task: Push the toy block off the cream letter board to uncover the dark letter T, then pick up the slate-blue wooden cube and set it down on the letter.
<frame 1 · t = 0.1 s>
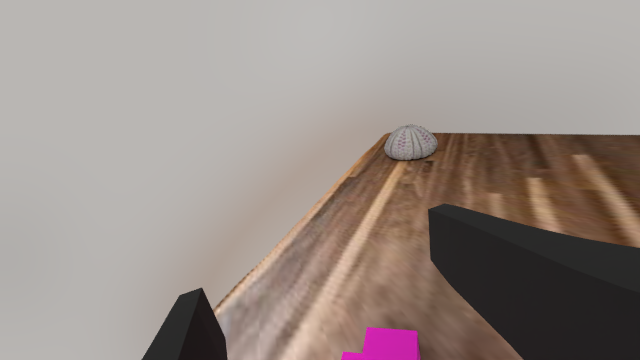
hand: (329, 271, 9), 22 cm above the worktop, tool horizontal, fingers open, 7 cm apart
sea urchin shell: (411, 155, 82), on the worktop
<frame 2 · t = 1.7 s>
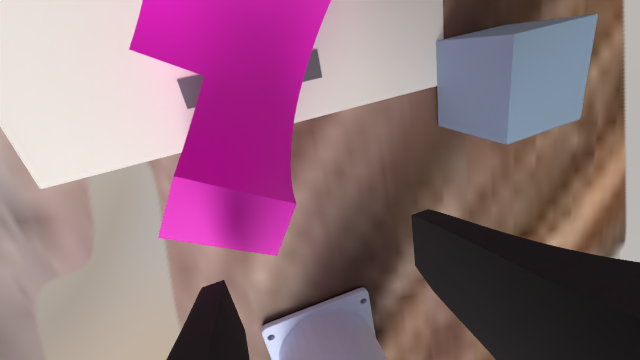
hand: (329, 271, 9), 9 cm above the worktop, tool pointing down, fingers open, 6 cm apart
blue cube: (470, 76, 19), on the worktop, touching letter board
letter board: (237, 16, 14), on the worktop
toy block: (237, 16, 14), resting on letter board
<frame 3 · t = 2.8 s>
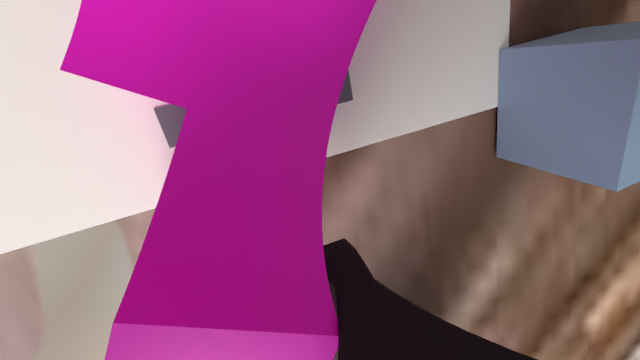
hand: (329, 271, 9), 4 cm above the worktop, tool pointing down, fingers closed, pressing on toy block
blue cube: (538, 93, 15), on the worktop, touching letter board
letter board: (238, 19, 10), on the worktop
toy block: (238, 19, 10), resting on letter board, touching gripper
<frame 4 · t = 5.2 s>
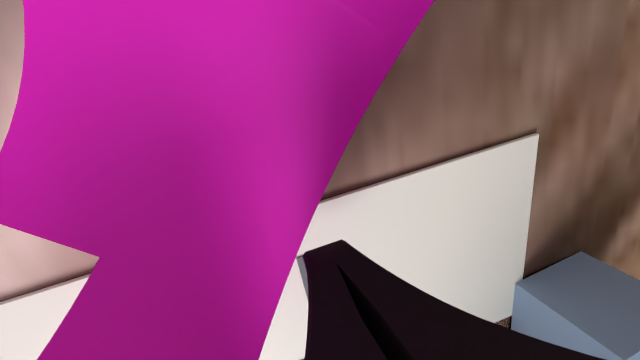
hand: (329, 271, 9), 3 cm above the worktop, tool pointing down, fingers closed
blue cube: (544, 298, 19), on the worktop, touching letter board
letter board: (326, 310, 14), on the worktop
toy block: (223, 123, 9), point 1 cm above the worktop, touching gripper
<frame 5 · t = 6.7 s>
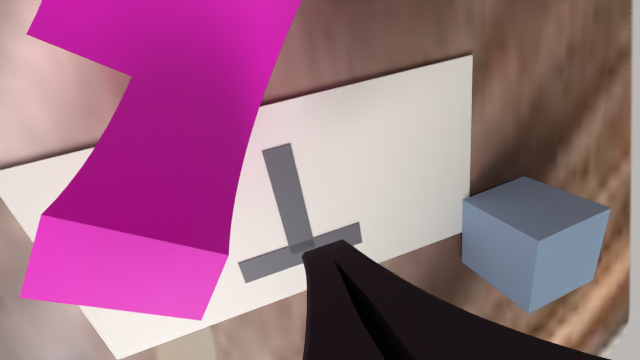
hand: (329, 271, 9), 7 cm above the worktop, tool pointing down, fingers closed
blue cube: (492, 219, 21), on the worktop, touching letter board
letter board: (291, 207, 16), on the worktop
toy block: (195, 9, 12), on the worktop, touching letter board
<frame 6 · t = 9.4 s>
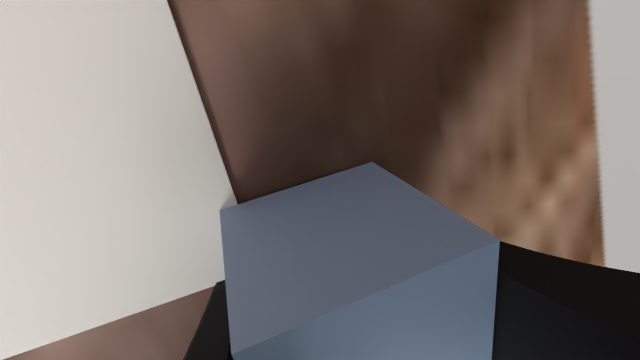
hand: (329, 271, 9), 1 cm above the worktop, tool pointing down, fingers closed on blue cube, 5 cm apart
blue cube: (315, 249, 11), on the worktop, touching gripper, letter board
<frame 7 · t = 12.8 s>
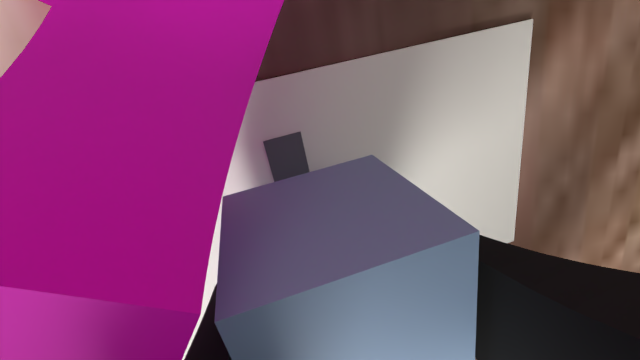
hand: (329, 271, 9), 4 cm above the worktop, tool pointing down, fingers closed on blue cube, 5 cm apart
blue cube: (315, 237, 11), point 2 cm above the worktop, touching gripper
letter board: (301, 215, 13), on the worktop
when the fingers open (3 cm above the worktop, at t = 13.6 s): blue cube stays where it is, resting on letter board.
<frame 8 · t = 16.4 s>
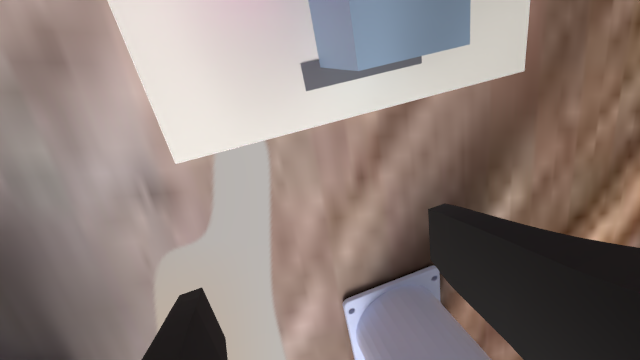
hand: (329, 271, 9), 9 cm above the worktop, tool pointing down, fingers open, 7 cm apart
blue cube: (357, 5, 16), resting on letter board
letter board: (355, 6, 16), on the worktop
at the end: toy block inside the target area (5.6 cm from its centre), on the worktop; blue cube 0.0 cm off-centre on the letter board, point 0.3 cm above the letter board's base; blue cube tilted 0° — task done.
